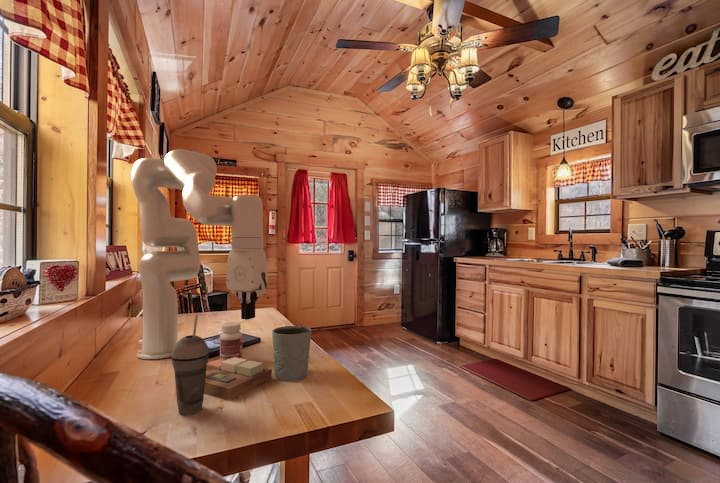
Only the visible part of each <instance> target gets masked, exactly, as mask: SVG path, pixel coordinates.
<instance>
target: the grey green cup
mask: <svg viewBox="0 0 720 483" xmlns="http://www.w3.org/2000/svg"><path fill="white" fill-rule="evenodd" d="M312 331H313V330H312V329H311V328H310V327H307V326H301V325H287V326H286V325H285V326H279V327H275V328H273V329H272V331H271V333H272V335H271V336H272V345H273V346H272V347H273V348H272V349H273V362H274V365H273V366H274V368H273V370H274V378H275V379H276V380H278V381H281V382H297V381H301V380H304V379H305V378H306V377H308V374H309V373H308V372H309V371H308V370H309V357H310V349H311V348H310V347H311V339H312Z"/></svg>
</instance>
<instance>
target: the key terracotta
mask: <svg viewBox="0 0 720 483" xmlns="http://www.w3.org/2000/svg"><path fill="white" fill-rule="evenodd" d="M222 361H225V360H222V359H220V358H219V359H216V360H213V361H210V362H207V366H206V367H209V368H213V369H217V370H218V369H220V368H221V362H222Z"/></svg>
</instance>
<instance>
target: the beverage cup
mask: <svg viewBox="0 0 720 483" xmlns="http://www.w3.org/2000/svg"><path fill="white" fill-rule="evenodd" d="M198 316H199V314H195V316H194V324H193V332H192V334H190V335H186V336H183V337H182V338H180V339H179V340H178V342H177V344H176V345H175V347H174V349H173V352H172V356H171V357H170V358H171V363H172V367H173V371H174V380H175V393H176V405H177V408H178V414H179V416H193V415H196V414H198V413H200V412H201V411H203V410H202V409H203V404H204V398H205V397H204V396H205V393H204V387H205V376H206V366H207V363H209V362H208V361H209V356H210V352H209V346H208V344H207V343H206V341H205V340H204V339H203V338H202V337H200V336H199V335H196V334H197V325H198V318H199V317H198ZM192 414H193V415H192Z"/></svg>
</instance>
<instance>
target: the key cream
mask: <svg viewBox="0 0 720 483" xmlns="http://www.w3.org/2000/svg"><path fill="white" fill-rule="evenodd" d="M247 361H248V359H246V358H242V359H241V358H236V357H233V358H230V359H228V360H225V361H222V362H221V370H224V371H228V372H232V373H235V372H237V365H239V364H242V363H244V362H247Z"/></svg>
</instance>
